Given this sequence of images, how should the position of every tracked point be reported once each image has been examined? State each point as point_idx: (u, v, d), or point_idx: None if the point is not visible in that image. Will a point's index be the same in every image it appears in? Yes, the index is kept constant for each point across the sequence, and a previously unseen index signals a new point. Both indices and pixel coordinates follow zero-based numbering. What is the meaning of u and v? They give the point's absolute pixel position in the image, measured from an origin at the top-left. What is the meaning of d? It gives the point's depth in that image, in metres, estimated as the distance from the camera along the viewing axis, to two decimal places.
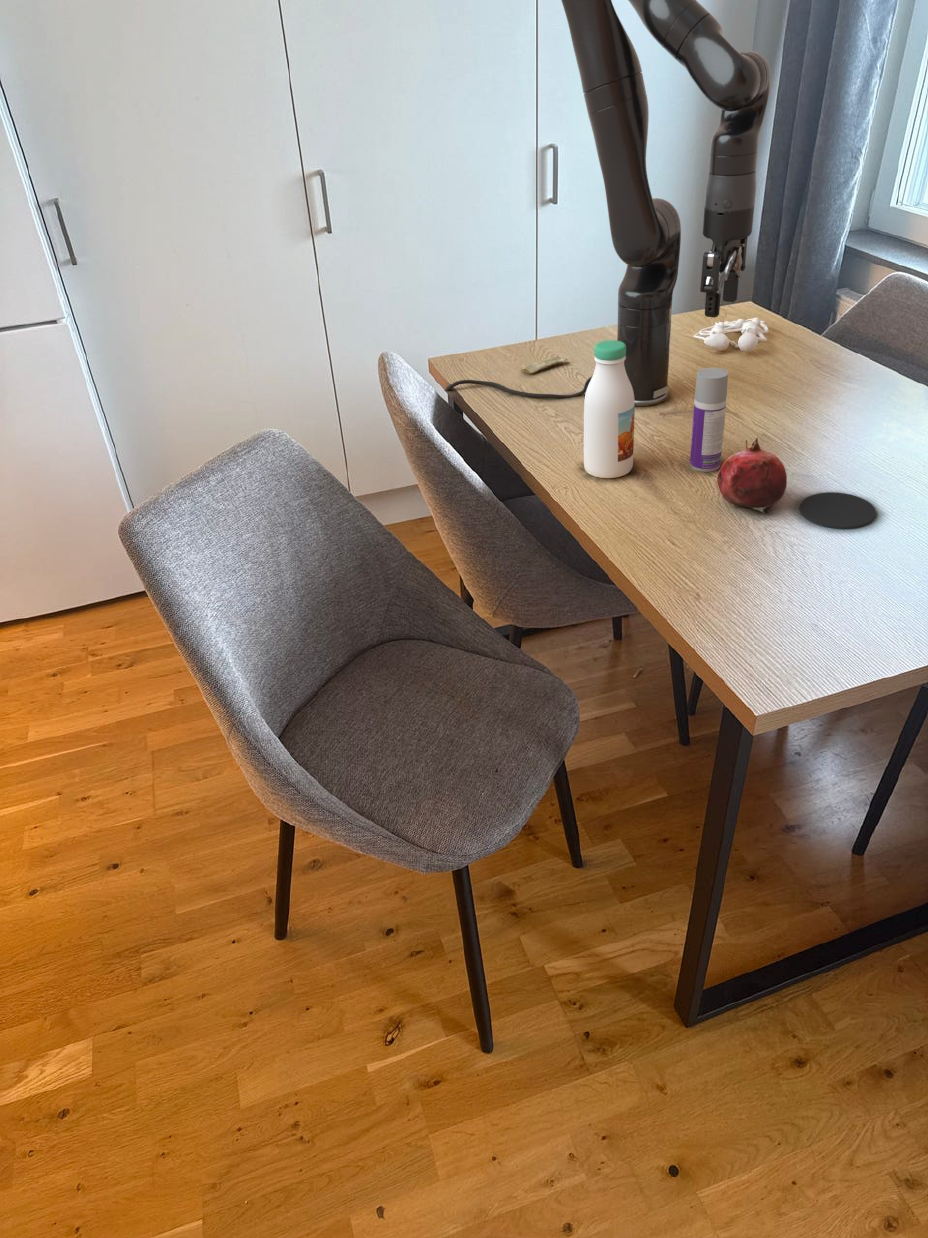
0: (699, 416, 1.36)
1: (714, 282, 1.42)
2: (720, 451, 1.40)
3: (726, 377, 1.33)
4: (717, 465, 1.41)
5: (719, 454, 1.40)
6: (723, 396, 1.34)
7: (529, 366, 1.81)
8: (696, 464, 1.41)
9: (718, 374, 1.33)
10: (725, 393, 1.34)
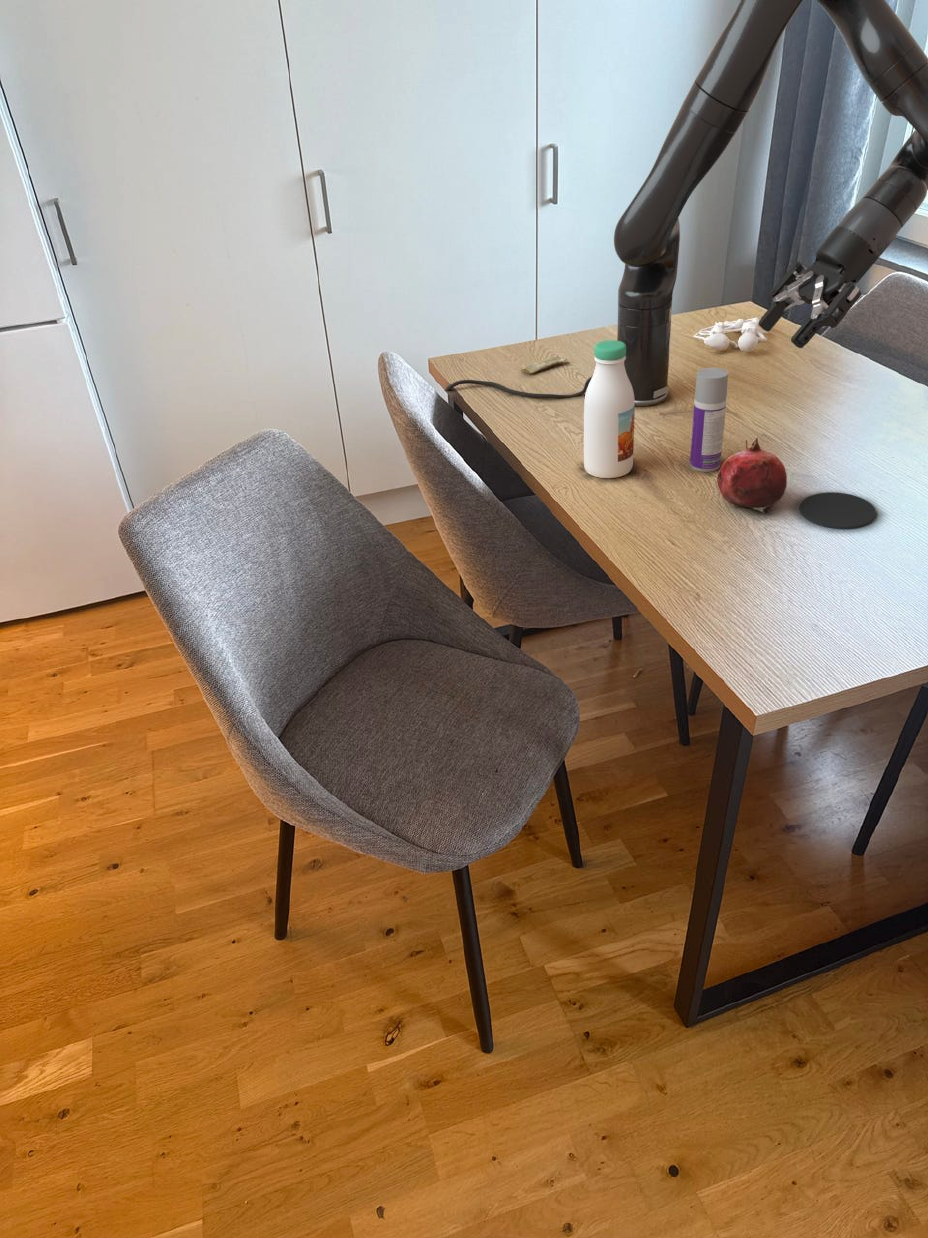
0: (699, 416, 1.36)
1: (841, 317, 1.27)
2: (720, 451, 1.40)
3: (726, 377, 1.33)
4: (717, 465, 1.41)
5: (719, 454, 1.40)
6: (723, 396, 1.34)
7: (529, 366, 1.81)
8: (696, 464, 1.41)
9: (718, 374, 1.33)
10: (725, 393, 1.34)
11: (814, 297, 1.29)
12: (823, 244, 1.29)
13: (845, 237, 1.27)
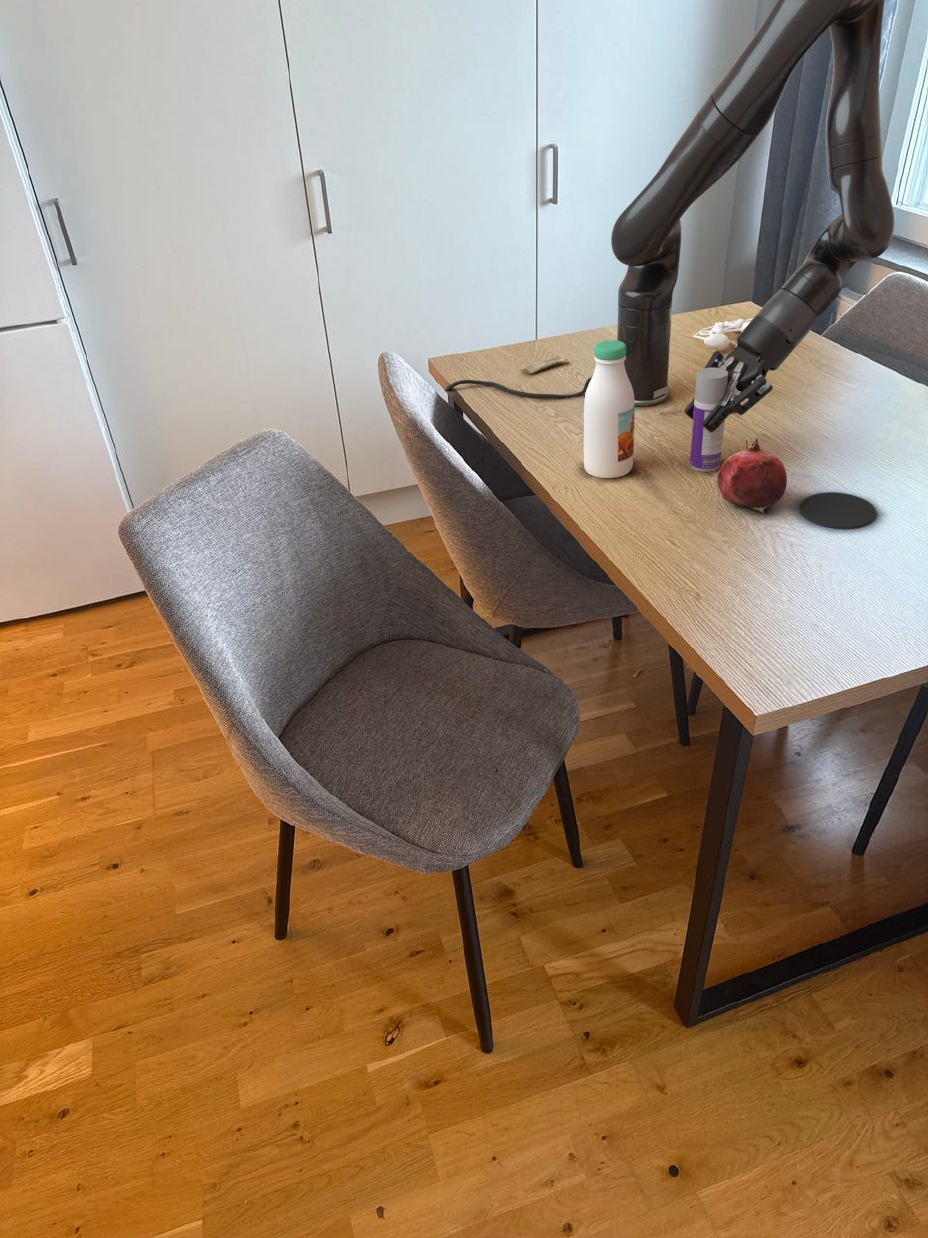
0: (699, 416, 1.36)
1: (748, 407, 1.32)
2: (720, 451, 1.40)
3: (726, 377, 1.33)
4: (717, 465, 1.41)
5: (719, 454, 1.40)
6: (723, 396, 1.34)
7: (529, 366, 1.81)
8: (696, 464, 1.41)
9: (718, 374, 1.33)
10: None
11: (729, 383, 1.33)
12: (743, 332, 1.33)
13: (763, 327, 1.31)
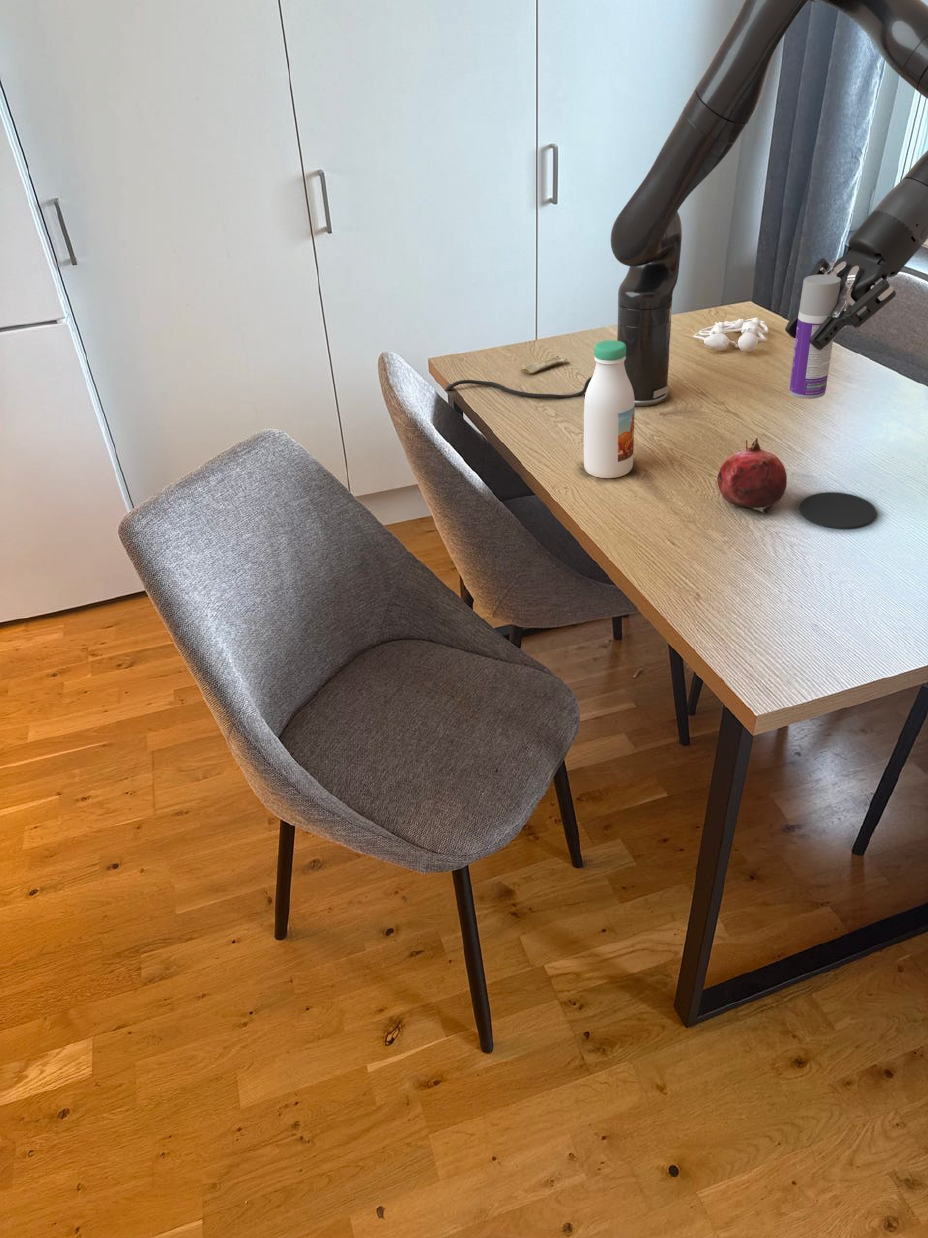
0: (805, 331, 1.17)
1: (866, 318, 1.13)
2: (827, 374, 1.21)
3: (839, 283, 1.14)
4: (823, 391, 1.22)
5: (826, 378, 1.21)
6: (834, 306, 1.15)
7: (529, 366, 1.81)
8: (798, 390, 1.22)
9: (829, 280, 1.14)
10: None
11: (842, 291, 1.15)
12: (858, 231, 1.14)
13: (884, 223, 1.12)
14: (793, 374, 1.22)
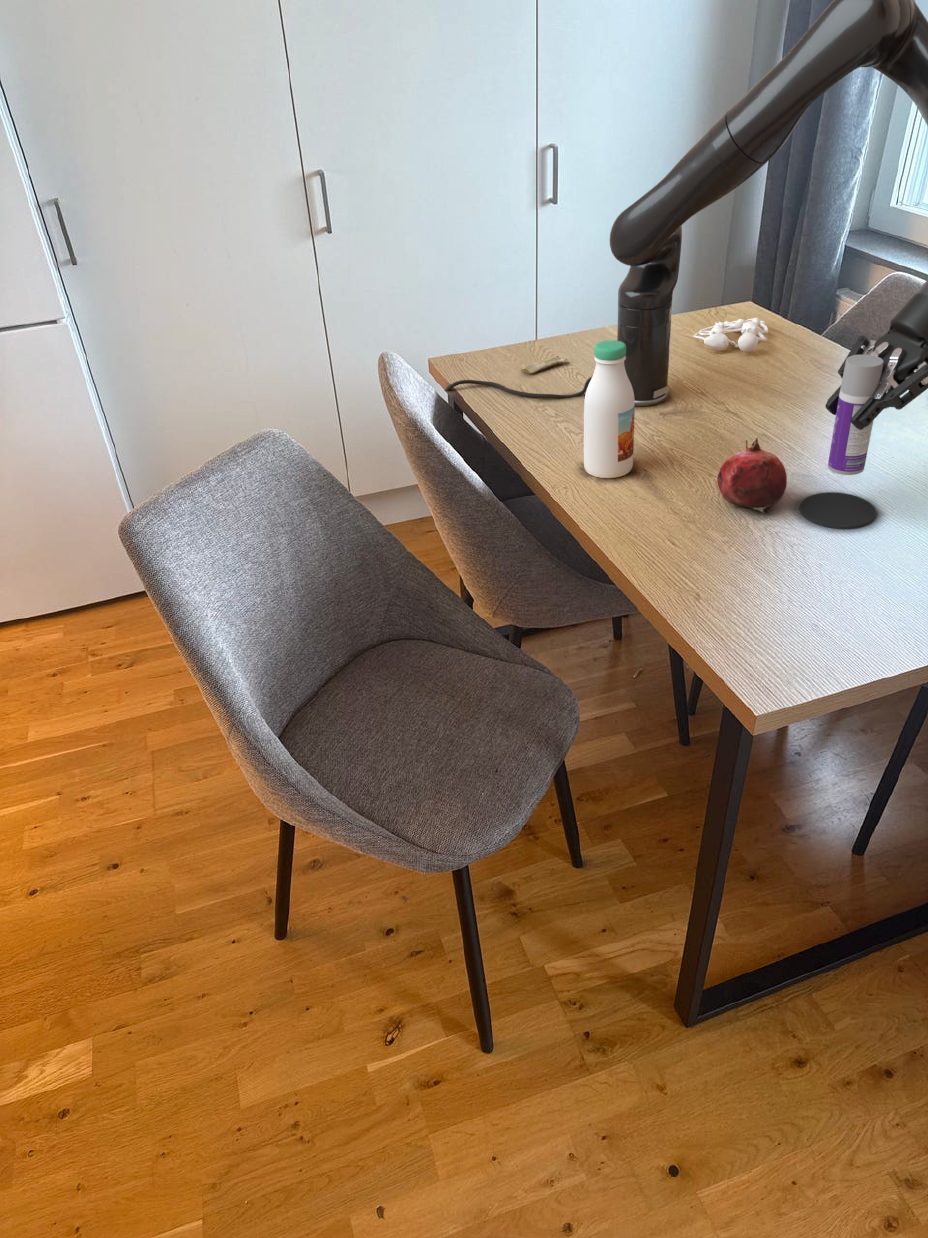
0: (846, 411, 1.18)
1: (909, 400, 1.14)
2: (866, 452, 1.21)
3: (882, 365, 1.14)
4: (862, 467, 1.22)
5: (865, 455, 1.21)
6: (876, 387, 1.16)
7: (529, 366, 1.81)
8: (838, 466, 1.22)
9: (872, 361, 1.15)
10: (879, 384, 1.16)
11: (884, 373, 1.15)
12: (901, 313, 1.15)
13: None
14: (832, 450, 1.22)
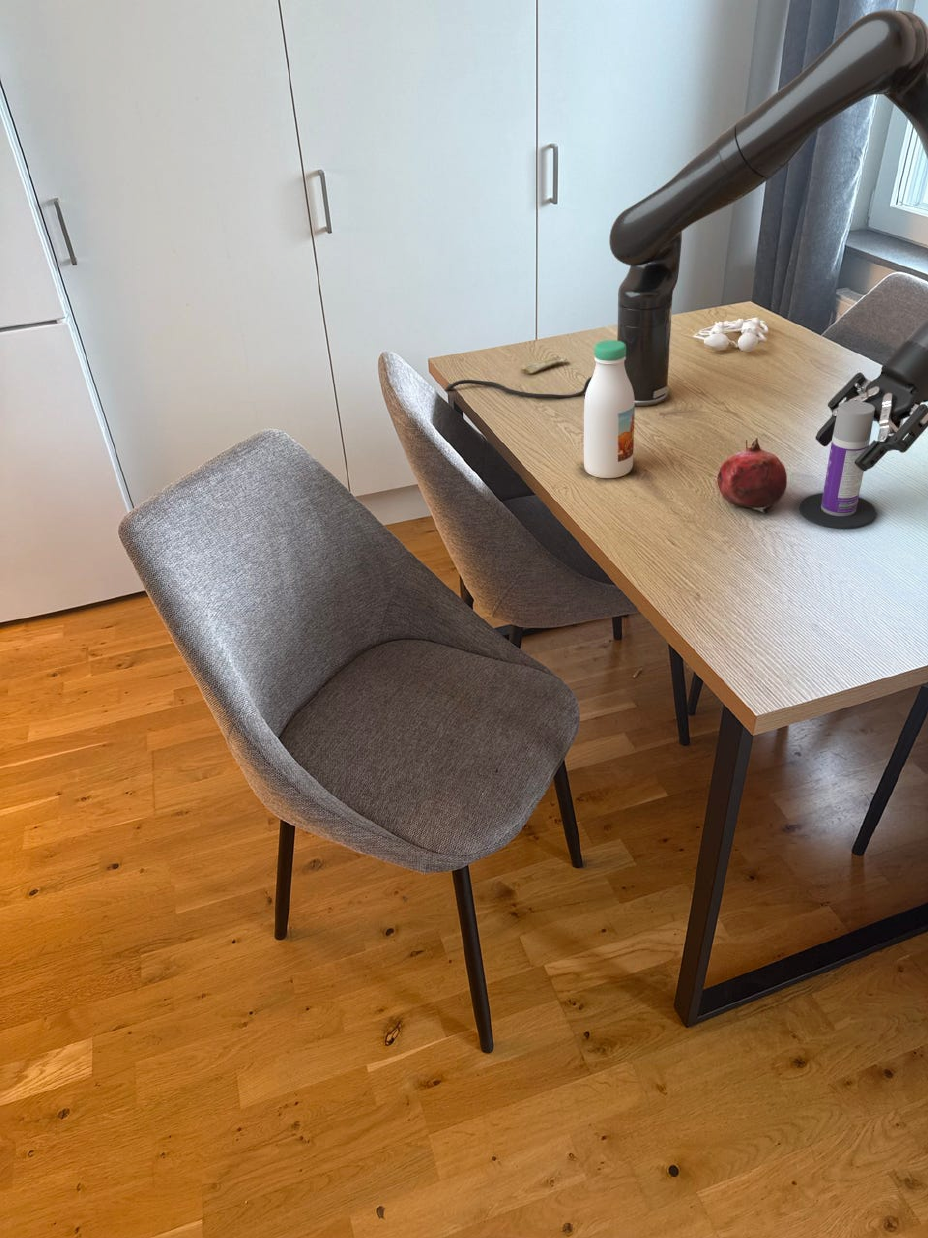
0: (839, 455, 1.21)
1: (912, 442, 1.16)
2: (858, 494, 1.25)
3: (873, 413, 1.18)
4: (854, 509, 1.26)
5: (857, 497, 1.25)
6: (868, 433, 1.19)
7: (529, 366, 1.81)
8: (830, 508, 1.26)
9: (863, 409, 1.18)
10: (870, 430, 1.19)
11: (881, 417, 1.18)
12: (892, 359, 1.18)
13: (918, 354, 1.15)
14: (825, 492, 1.26)
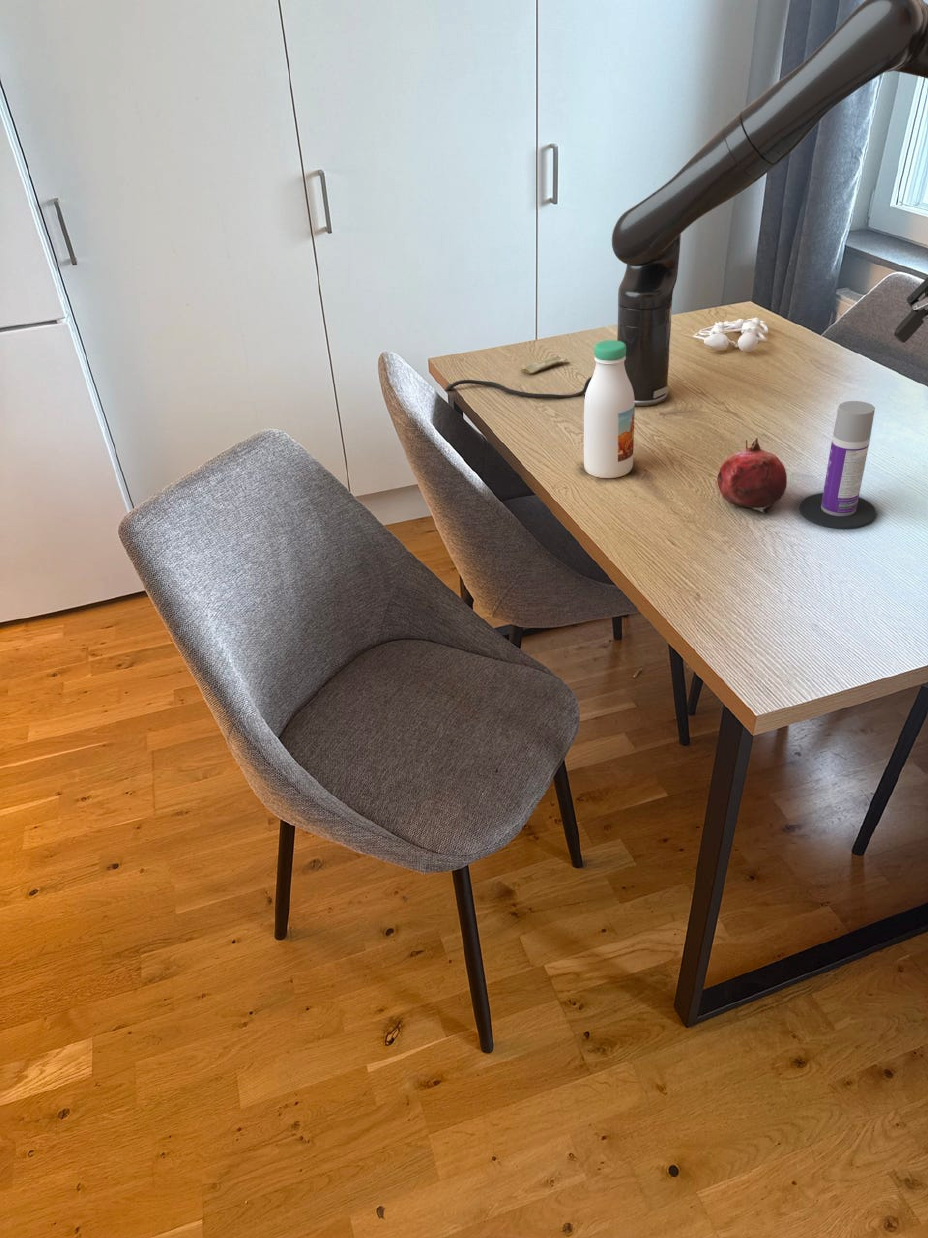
0: (839, 455, 1.21)
1: None
2: (858, 494, 1.25)
3: (873, 413, 1.18)
4: (854, 509, 1.26)
5: (857, 497, 1.25)
6: (868, 433, 1.19)
7: (529, 366, 1.81)
8: (830, 508, 1.26)
9: (863, 409, 1.18)
10: (870, 430, 1.19)
11: None
12: None
13: None
14: (825, 492, 1.26)
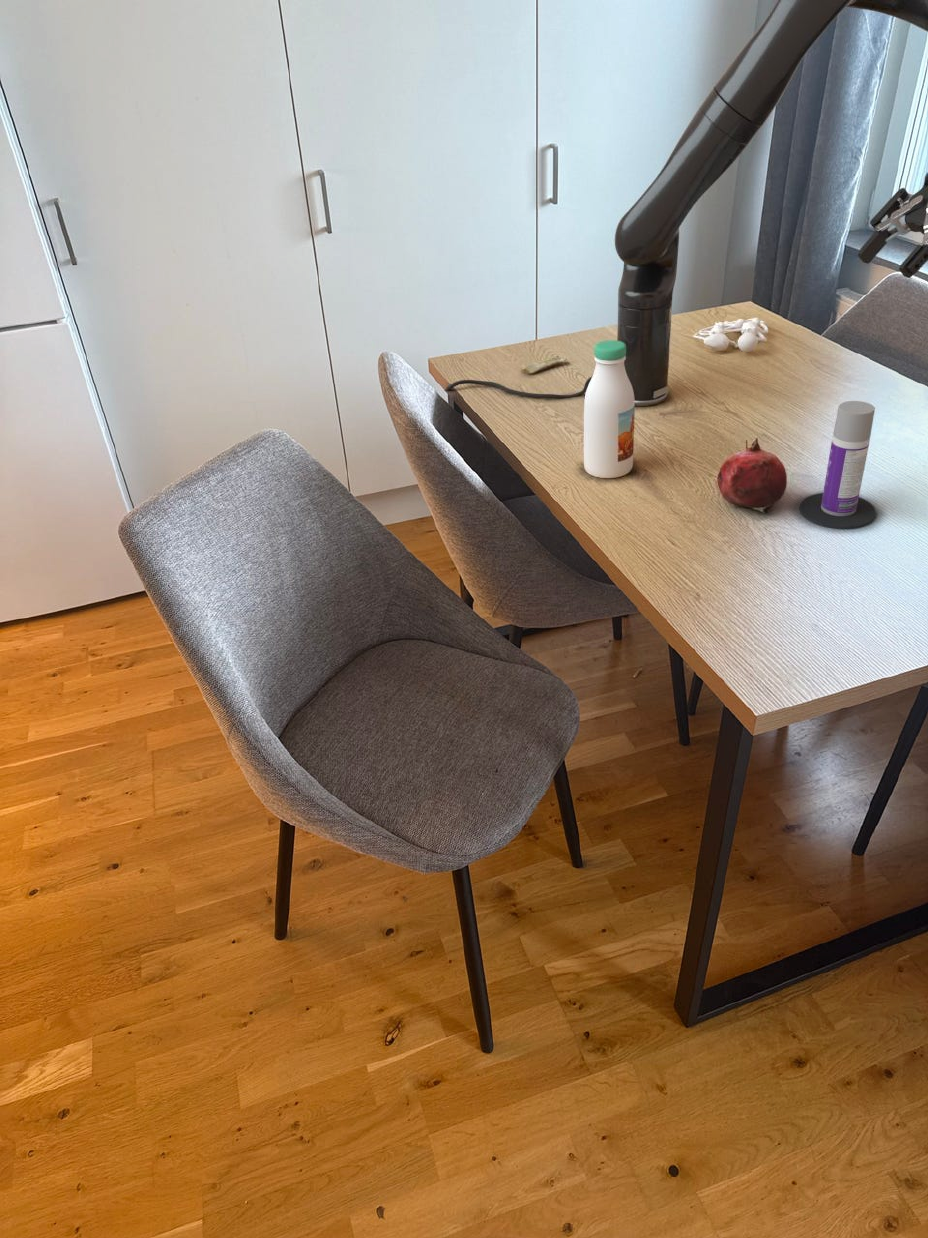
0: (839, 455, 1.21)
1: None
2: (858, 494, 1.25)
3: (873, 413, 1.18)
4: (854, 509, 1.26)
5: (857, 497, 1.25)
6: (868, 433, 1.19)
7: (529, 366, 1.81)
8: (830, 508, 1.26)
9: (863, 409, 1.18)
10: (870, 430, 1.19)
11: (926, 222, 1.19)
12: None
13: None
14: (825, 492, 1.26)
